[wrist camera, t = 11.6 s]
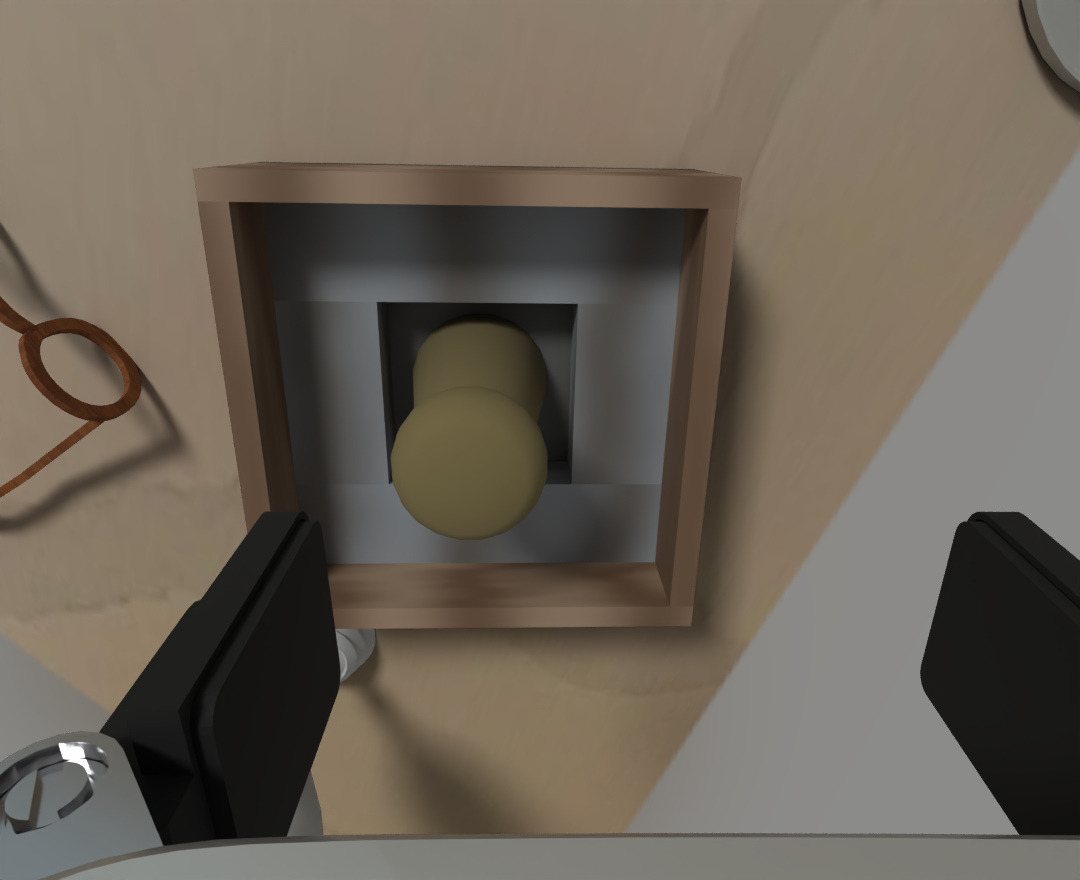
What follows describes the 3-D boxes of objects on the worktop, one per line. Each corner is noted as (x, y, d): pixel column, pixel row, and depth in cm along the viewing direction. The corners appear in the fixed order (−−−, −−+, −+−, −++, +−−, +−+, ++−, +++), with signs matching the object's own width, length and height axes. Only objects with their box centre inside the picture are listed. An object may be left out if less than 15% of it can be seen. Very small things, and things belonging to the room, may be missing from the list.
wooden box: (693, 169, 31) (741, 178, 25) (660, 542, 38) (691, 625, 32) (260, 162, 31) (192, 169, 24) (305, 543, 37) (261, 629, 31)
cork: (535, 450, 35) (545, 580, 25) (405, 431, 34) (362, 557, 24) (558, 324, 33) (580, 411, 22) (420, 302, 32) (378, 381, 22)
